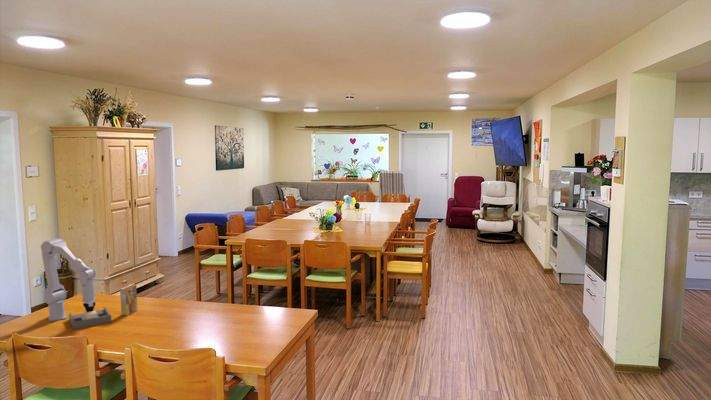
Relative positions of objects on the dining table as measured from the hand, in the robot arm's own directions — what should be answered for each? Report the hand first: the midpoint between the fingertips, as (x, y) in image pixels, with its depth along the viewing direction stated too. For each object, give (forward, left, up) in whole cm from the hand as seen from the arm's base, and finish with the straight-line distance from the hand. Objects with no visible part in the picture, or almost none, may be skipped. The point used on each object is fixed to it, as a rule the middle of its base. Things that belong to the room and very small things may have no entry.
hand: (90, 315), depth 265 cm
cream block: (+4, 0, -1) cm, 4 cm away
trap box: (-1, 0, -3) cm, 3 cm away
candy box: (-1, +20, -3) cm, 20 cm away
